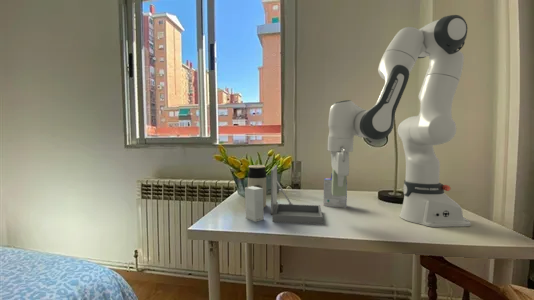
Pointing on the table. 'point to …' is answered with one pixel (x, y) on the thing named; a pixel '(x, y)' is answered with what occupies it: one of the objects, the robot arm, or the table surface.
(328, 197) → the ink cartridge box
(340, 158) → the robot arm
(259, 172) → the travel mug
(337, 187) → the block
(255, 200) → the skincare box
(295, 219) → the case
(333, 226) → the table surface
